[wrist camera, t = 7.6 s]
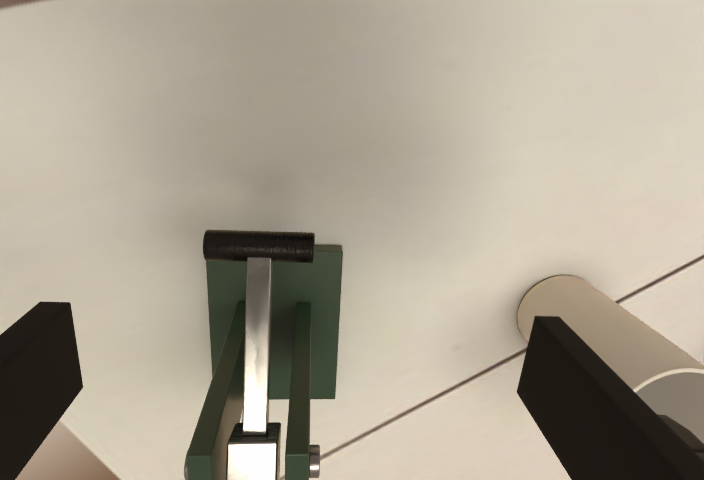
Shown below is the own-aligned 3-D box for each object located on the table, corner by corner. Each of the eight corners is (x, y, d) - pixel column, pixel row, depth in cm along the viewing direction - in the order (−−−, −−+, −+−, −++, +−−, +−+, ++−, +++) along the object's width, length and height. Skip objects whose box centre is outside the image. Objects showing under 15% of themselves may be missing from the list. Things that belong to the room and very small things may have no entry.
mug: (507, 283, 34) (604, 387, 23) (596, 260, 34) (737, 353, 23) (523, 391, 37) (613, 528, 26) (603, 370, 37) (728, 499, 26)
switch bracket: (209, 242, 31) (124, 377, 17) (341, 245, 32) (362, 377, 18) (216, 389, 35) (152, 596, 21) (334, 389, 36) (347, 587, 22)
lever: (212, 231, 23) (200, 228, 20) (314, 233, 23) (315, 231, 21) (204, 481, 22) (191, 508, 20) (308, 478, 23) (307, 505, 20)
